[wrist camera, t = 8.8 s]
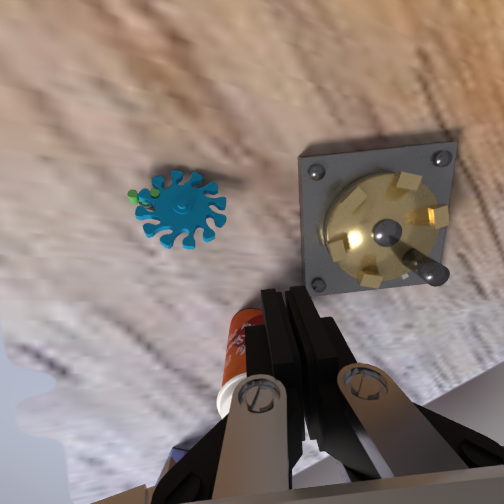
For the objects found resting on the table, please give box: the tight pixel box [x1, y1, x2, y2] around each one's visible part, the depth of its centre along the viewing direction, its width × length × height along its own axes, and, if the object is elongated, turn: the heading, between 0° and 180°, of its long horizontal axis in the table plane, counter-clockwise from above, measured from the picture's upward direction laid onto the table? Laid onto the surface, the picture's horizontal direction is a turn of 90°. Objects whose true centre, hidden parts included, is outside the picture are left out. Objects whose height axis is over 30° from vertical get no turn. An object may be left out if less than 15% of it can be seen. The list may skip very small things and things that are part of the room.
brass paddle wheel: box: [325, 171, 450, 289], centre depth 33 cm, size 13×13×7 cm
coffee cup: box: [217, 308, 264, 419], centre depth 36 cm, size 8×8×15 cm
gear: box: [128, 170, 226, 249], centre depth 35 cm, size 11×6×10 cm
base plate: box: [298, 142, 458, 297], centre depth 37 cm, size 18×18×3 cm
